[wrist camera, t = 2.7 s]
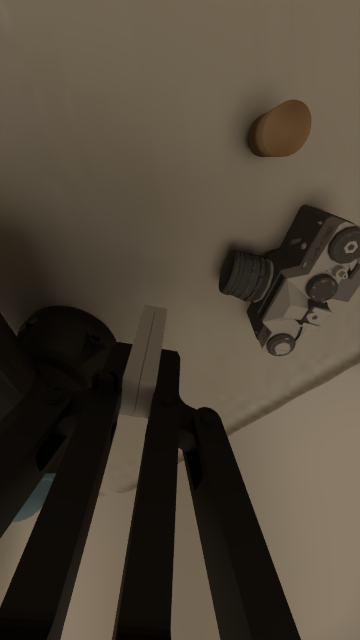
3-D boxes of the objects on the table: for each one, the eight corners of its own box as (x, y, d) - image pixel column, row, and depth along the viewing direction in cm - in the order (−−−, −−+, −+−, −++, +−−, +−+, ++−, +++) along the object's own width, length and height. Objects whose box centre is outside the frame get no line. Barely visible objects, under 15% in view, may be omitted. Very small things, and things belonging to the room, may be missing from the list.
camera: (251, 186, 26) (280, 199, 18) (332, 213, 28) (394, 237, 19) (205, 304, 35) (210, 350, 27) (269, 320, 36) (292, 369, 28)
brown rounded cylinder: (239, 153, 25) (258, 151, 18) (250, 112, 23) (276, 94, 16) (269, 160, 25) (298, 161, 18) (282, 121, 23) (320, 106, 16)
